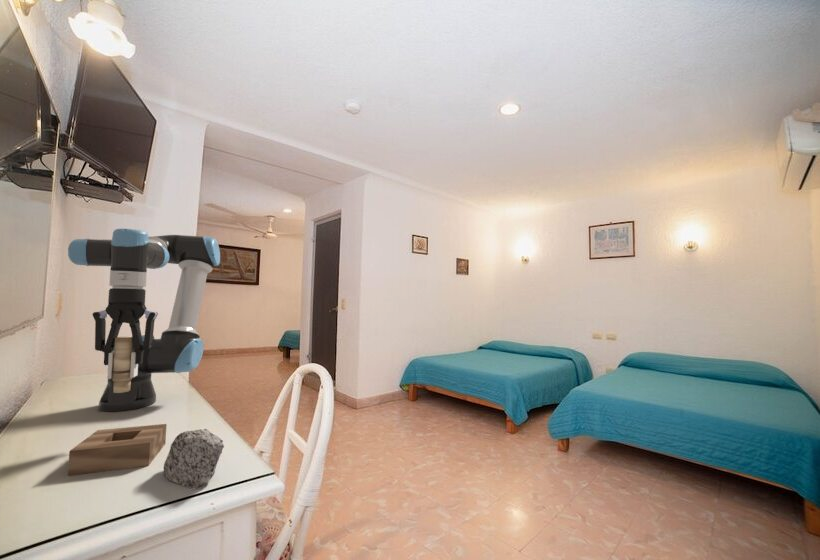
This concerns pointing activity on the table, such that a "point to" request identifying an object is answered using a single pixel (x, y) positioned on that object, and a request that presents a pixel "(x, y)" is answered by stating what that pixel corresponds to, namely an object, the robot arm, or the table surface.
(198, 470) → the rock
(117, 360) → the peg
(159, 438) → the board
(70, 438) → the table surface
